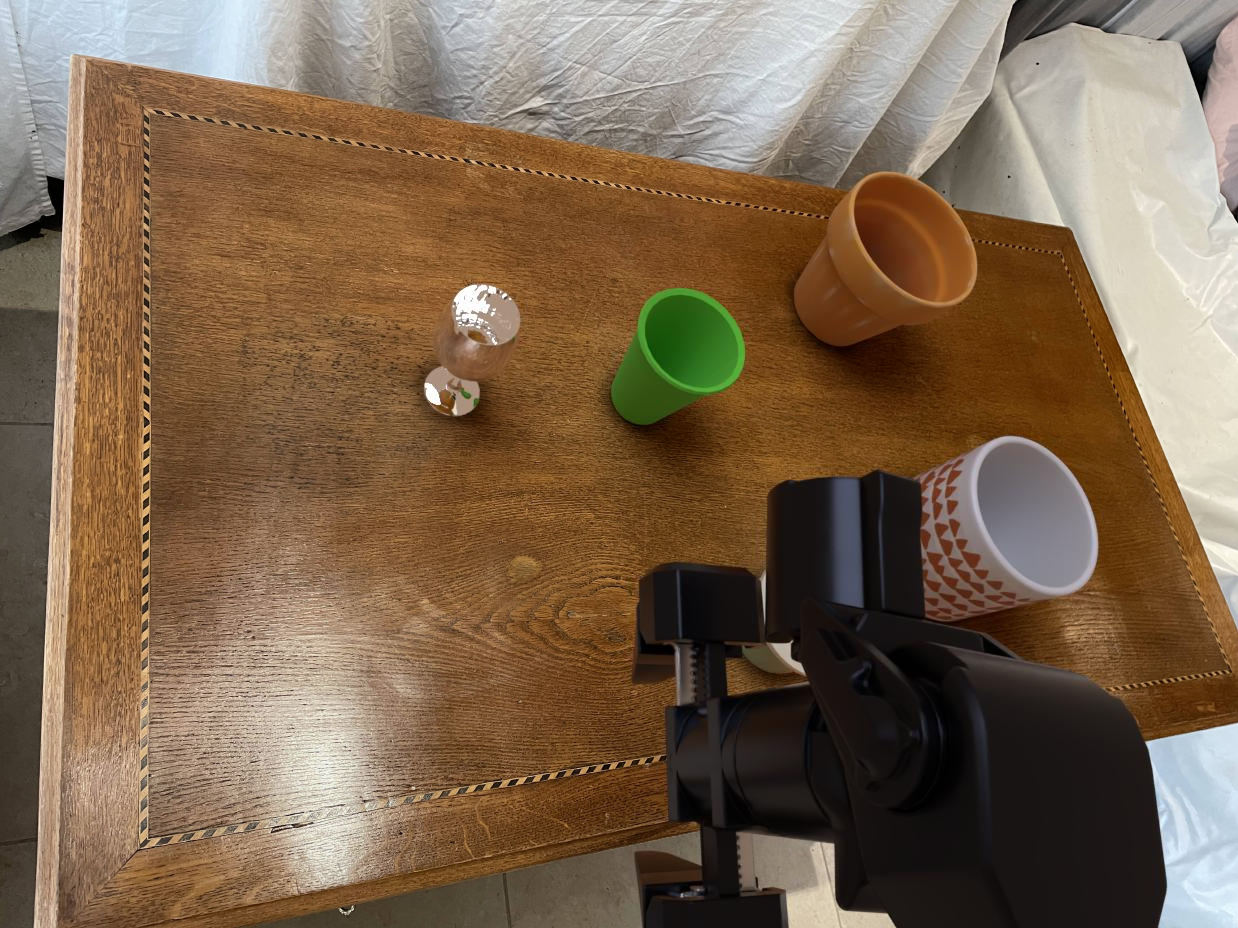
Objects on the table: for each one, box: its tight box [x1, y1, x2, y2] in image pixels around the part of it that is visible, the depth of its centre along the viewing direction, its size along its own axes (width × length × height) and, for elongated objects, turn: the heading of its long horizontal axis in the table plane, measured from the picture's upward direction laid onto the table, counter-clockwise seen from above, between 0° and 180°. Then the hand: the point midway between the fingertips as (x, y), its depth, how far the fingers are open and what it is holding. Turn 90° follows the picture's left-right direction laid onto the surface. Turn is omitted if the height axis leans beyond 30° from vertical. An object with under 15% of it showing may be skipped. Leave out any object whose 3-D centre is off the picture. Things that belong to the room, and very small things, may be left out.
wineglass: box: [423, 283, 521, 417], centre depth 57 cm, size 6×6×12 cm
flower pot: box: [793, 171, 978, 347], centre depth 76 cm, size 14×14×13 cm
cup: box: [610, 287, 746, 426], centre depth 64 cm, size 9×9×11 cm
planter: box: [911, 435, 1099, 622], centre depth 70 cm, size 14×14×13 cm
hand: (641, 764), depth 45 cm, fingers open, 9 cm apart
